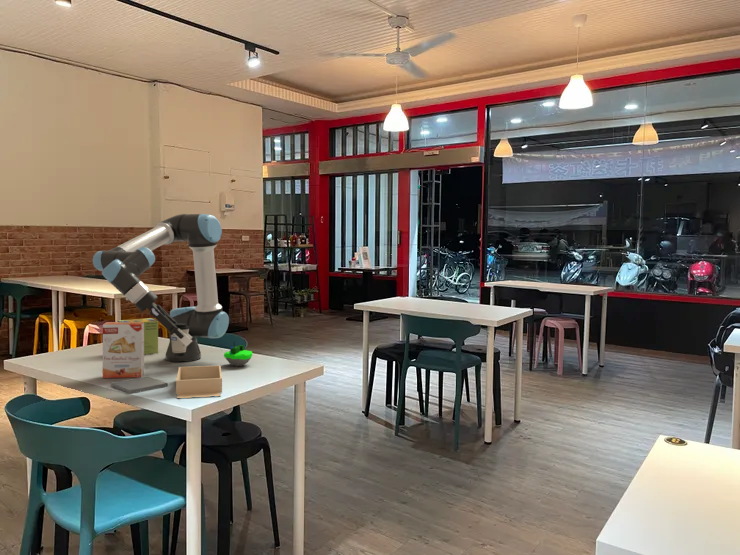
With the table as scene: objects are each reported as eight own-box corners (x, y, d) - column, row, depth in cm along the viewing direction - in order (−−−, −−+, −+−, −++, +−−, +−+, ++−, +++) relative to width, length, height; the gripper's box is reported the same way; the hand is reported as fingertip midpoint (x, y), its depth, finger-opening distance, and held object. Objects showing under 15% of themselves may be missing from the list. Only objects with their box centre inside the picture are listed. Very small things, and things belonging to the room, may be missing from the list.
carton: (175, 399, 184) (175, 384, 184) (179, 376, 214) (179, 364, 214) (222, 396, 189) (222, 382, 188) (220, 375, 219) (220, 362, 218)
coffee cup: (187, 349, 204) (187, 322, 204) (190, 352, 198) (191, 325, 197) (167, 350, 201) (167, 323, 200) (170, 354, 195) (170, 325, 194)
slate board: (147, 379, 209) (147, 376, 209) (167, 386, 200) (167, 382, 200) (111, 386, 199) (111, 382, 198) (130, 393, 190) (130, 390, 190)
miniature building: (244, 369, 230) (245, 343, 229) (219, 367, 232) (219, 341, 232) (256, 363, 242) (257, 338, 241) (232, 361, 244) (232, 336, 243)
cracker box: (102, 378, 209) (101, 324, 208) (105, 375, 215) (105, 321, 213) (141, 377, 212) (141, 323, 211) (144, 374, 218) (144, 321, 217)
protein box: (158, 353, 258) (158, 320, 257) (124, 357, 248) (123, 322, 247) (151, 349, 266) (151, 317, 265) (117, 353, 256) (117, 320, 255)
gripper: (136, 301, 203) (182, 344, 209) (130, 307, 184) (181, 354, 190) (152, 287, 205) (197, 330, 210) (147, 292, 186) (197, 339, 192)
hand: (189, 341), depth 200 cm, fingers closed on coffee cup, 7 cm apart
